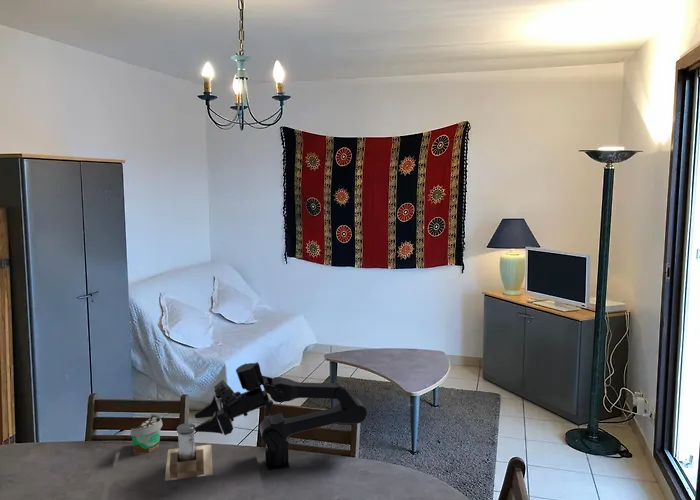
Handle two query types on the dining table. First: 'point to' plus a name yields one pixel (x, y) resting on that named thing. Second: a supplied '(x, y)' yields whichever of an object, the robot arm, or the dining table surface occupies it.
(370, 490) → the dining table surface
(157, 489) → the dining table surface
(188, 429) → the silver tapered cylinder
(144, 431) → the food container
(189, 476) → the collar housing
